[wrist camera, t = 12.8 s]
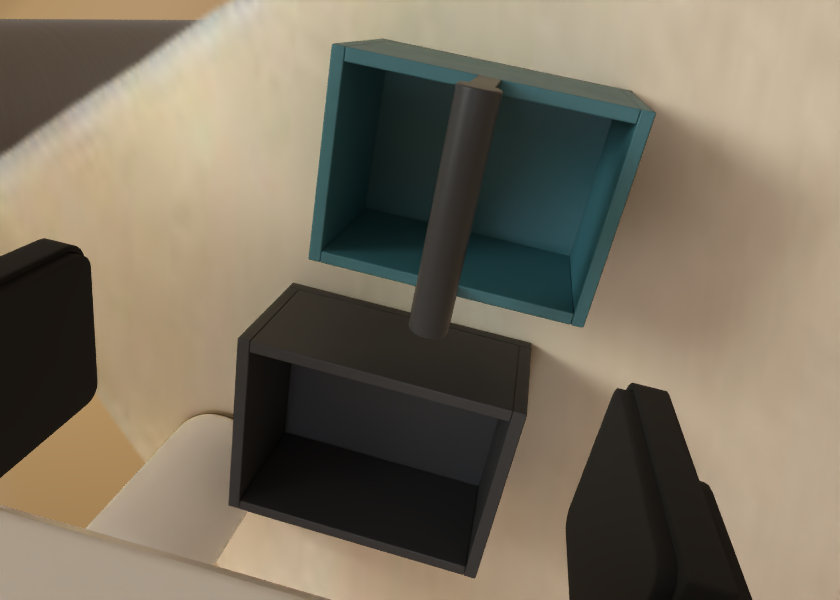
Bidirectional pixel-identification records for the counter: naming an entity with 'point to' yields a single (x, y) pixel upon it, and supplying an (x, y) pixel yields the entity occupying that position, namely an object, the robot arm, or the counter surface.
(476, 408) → the lower bin
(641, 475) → the robot arm
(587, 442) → the counter surface
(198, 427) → the can
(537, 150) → the top bin
